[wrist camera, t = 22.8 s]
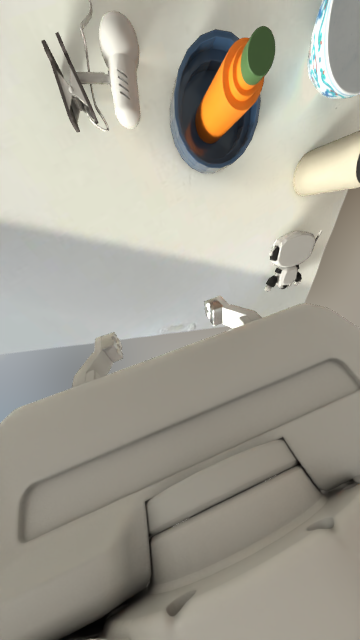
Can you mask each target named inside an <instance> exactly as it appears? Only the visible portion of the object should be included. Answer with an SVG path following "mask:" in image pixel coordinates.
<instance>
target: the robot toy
mask: <svg viewBox="0 0 360 640" xmlns="http://www.w3.org/2000/svg"><path fill="white" fill-rule="evenodd" d="M321 233H322V231H320V232H319V234H318V236H317V238H316V240H315V237H314V235H313V234H311V233H308V232H301V231H293V232H291V233H288V234H285V235H283V236H281V237H280V238H279V239H276V240H275V243H274V245H273V247H272V250H271V252H270V260H271V261H272V263H273V264H274V265H276V266H279V267H278V268H277V269H276V270H275V272H276V273H275V275H274V276H272V277H271V278H269V280H268V282H267V283H266V284H267V286H266V287H265V291H270V290H271V287H274V286H275V284H276V285H277V286H279V287H280V288H281V289H285V288H286V287H289V286H291V284H292V282H293V281H294V284H295V285H298V284H300V282H301V279H302V278H301V274H300V273H299V272H298V269H299V265H298V264H300V263H302V262H304V261H305V260H306V259H307V258H308V257H309V256H310V255H311V253H312V250H313V247H314V246H315V245H314V244H315V243H316V241H317V239H318V237H319V236H320V234H321Z"/></svg>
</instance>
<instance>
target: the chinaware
mask: <svg viewBox="0 0 360 640" xmlns="http://www.w3.org/2000/svg"><path fill="white" fill-rule="evenodd" d="M308 74H309V77H310V80H311V82H312V83H313V84H314V86H315V87H316V89H317V90H318V91H319V92H320V93H321V94H322V95H324V96H326V97H328V98H332V99H343V98H349V97H353V96H356V95H359V94H360V0H323V1H322V4H321V7H320V9H319V12H318V15H317V18H316V22H315V25H314V29H313V34H312V38H311V44H310V52H309V56H308Z"/></svg>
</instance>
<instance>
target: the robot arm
mask: <svg viewBox="0 0 360 640" xmlns="http://www.w3.org/2000/svg"><path fill="white" fill-rule="evenodd" d="M204 305H205V306H206V308H205V313H206V316H207V317H208V318H209V319H210V322H211V323H212V324H213V326H215V325H218V324H221V323H222V324H224V325H227V326H229V327H231V328H233V329H231V330H228V331H225V332H223V333H220V334H217V335H214V336H212V337H209V338H206V339H204V340H201V341H198V342H195V343H193V344H190V345H187V346H185V347H182V348H179V349H176V350H174V351H171V352H169V353H166V354H163V355H160V356H158V357H155V358H152V359H150V360H147V361H144V362H141V363H139V364H136V365H133V366H130V367H128V368H125V369H122V370H120V371H117V372H114V373H112V374H109V375H108V373H109V371H110V369H111V366H112V365H113V363H114V362H116V361H119V360H121V359H123V353H122V351H121V350H122V344H121V342H120V340H119V339H118V338H117V335H116V334H115V332H113V333H110V334H106V335H103V336H100V337H97V338H96V339H95V348H94V353H92V354H91V356H90V357H89V358H88V359H87V360H86V362H85V363H84V364H83V366H82V367H81V368H80V369H79V371H78V372H77V373H76V375H75V376H74V379H73V384H72V388H71V389H68V390H66V391H63V392H60V393H57V394H55V395H52V396H49V397H46V398H44V399H41V400H38V401H36V402H33V403H30V404H27V405H24V406H21V407H19V408H17V409H15V410H14V411H13V412H11V413H10V414H9V415H8V416H7V417H6V418H5V419H4V420H3V421H2V422H1V423H0V640H360V328H358V327H357V326H356V325H354V324H353V323H351V322H350V321H348V320H347V319H345V318H344V317H342V316H341V315H339V314H338V313H336V312H334V311H333V310H331V309H329V308H327V307H322V306H318V305H313V304H307V303H302V304H298V305H295V306H293V307H290V308H287V309H285V310H282V311H279V312H277V313H274V314H271V315H269V316H266V317H263V318H262V317H261V316H260V315H259V314H258V313H257V312H255V311H253V310H249V309H246V308H242V307H238V306H235V305H229V304H228V303H227V302H226V301H225V300H224V299H223V298H222V297H221V296H218V297H215V298H212V299H210V300H207V301H204Z"/></svg>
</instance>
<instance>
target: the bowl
mask: <svg viewBox="0 0 360 640" xmlns="http://www.w3.org/2000/svg"><path fill="white" fill-rule="evenodd" d="M237 40H239V38H238V37H236V36H235V35H234V34H233V33H232V32H228V31H222V30H217V29H215V30H213V31H210V32H208V33H205V34H203V35H201V36H199V38H198V39H197V40H196V41H195V42H194V43H193V44H192V45H191V46H190V47H189V49H188V50H187V52H186V54H185V56H184V58H183V61H182V63H181V65H180V67H179V70H178V73H177V77H176V80H175V84H174V88H173V93H172V98H171V104H170V127H171V131H172V135H173V139H174V143H175V146H176V148H177V149H178V151H179V153H180V155H181V157H182V159H183V160H184V161H185V162H186V163H187V164H188V165H189V166H190V167H191V168H192V169H195V170H197V171H199V172H201V173H215V172H217V171H220V170H222V169H224V168H226V167H227V166H229V165H231V164H232V163H233V162H235V161H236V160H237V159H238V158H239V157H240V156H241V155H242V154H243V153H244V151H245V150H246V148H247V146H248V145H249V143H250V142H251V140H252V137H253V134H254V131H255V128H256V126H257V123H258V116H259V109H260V102H261V100H260V95H259V97H258V99H257V100H256V102H255V103H254V104H253V106H252V107H251V108H250V109H249V110H248V111H247V112H246V113H245V114H244V115H243V116H242V117H241V118H240V119H239V120H238V121H237V122H236V123H235V124H234V125H233V126H232V127H231V128H230V129H229V130H228V131H227V132H226V133H225V134H224V135H223V136H222V137H221V138H220V139H219V140H218V141H217V142H215V143H212V144H208V143H205V142H204V141H203V140H202V139H201V138H200V137H199V135H198V133H197V130H196V124H195V118H196V112H197V109H198V107H199V105H200V103H201V101H202V99H203V97H204V96H205V94H206V92H207V90H208V88H209V86H210V84H211V82H212V81H213V79H214V77H215V75H216V73H217V71H218V69H219V68H220V66H221V64H222V62H223V60H224V58H225V56H226V54H227V53H228V51H229V49H230V47H231V46H232V45H233V44H234V43H235V42H236V41H237Z"/></svg>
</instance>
